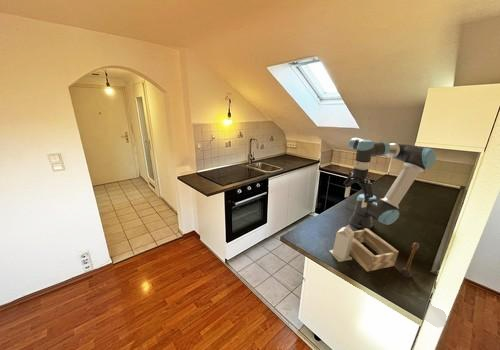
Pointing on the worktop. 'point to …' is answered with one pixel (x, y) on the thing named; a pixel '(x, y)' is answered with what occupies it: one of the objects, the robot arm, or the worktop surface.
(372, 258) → the crate
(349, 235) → the milk carton
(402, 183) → the robot arm
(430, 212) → the worktop surface
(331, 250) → the place mat
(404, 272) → the wooden tabletop sculpture
